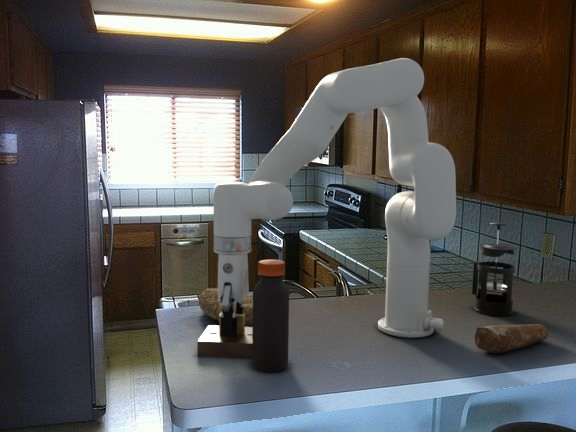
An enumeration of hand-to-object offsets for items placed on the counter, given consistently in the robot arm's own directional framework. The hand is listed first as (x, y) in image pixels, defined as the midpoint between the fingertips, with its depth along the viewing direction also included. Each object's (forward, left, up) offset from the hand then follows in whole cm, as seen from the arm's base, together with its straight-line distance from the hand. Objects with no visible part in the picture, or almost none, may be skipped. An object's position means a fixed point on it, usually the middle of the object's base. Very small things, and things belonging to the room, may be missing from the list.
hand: (232, 329), depth 114 cm
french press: (-36, -61, -4) cm, 71 cm away
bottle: (-12, +3, -4) cm, 13 cm away
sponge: (+12, -14, -4) cm, 19 cm away
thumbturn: (0, 0, -1) cm, 1 cm away
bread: (-47, -36, -4) cm, 59 cm away
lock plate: (0, 0, -4) cm, 4 cm away
